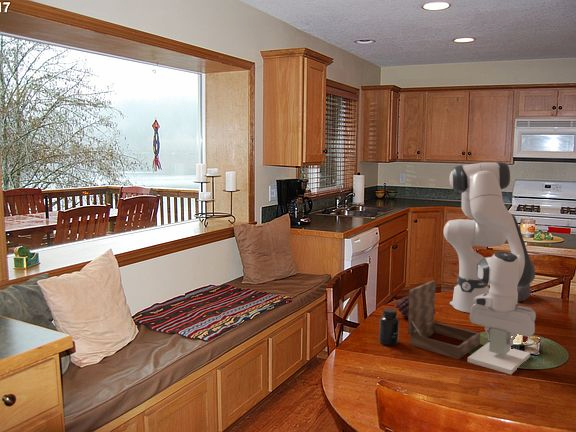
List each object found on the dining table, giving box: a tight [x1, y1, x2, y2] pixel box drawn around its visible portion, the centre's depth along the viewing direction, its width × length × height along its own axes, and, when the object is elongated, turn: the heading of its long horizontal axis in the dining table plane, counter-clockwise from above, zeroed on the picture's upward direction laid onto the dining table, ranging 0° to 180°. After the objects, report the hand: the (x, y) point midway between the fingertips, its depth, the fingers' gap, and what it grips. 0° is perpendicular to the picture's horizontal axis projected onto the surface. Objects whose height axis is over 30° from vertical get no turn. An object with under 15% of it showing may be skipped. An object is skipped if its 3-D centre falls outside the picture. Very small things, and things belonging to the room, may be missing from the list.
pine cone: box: [394, 295, 436, 319], centre depth 212 cm, size 18×10×10 cm, turn 52°
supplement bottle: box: [378, 308, 400, 346], centre depth 186 cm, size 7×7×12 cm
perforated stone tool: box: [517, 283, 532, 302], centre depth 239 cm, size 15×5×7 cm, turn 139°
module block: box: [489, 328, 511, 355], centre depth 172 cm, size 5×5×8 cm
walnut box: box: [407, 279, 482, 360], centre depth 184 cm, size 18×19×20 cm
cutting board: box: [467, 341, 531, 376], centre depth 173 cm, size 18×14×2 cm
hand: (499, 342), depth 172 cm, fingers closed on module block, 5 cm apart
